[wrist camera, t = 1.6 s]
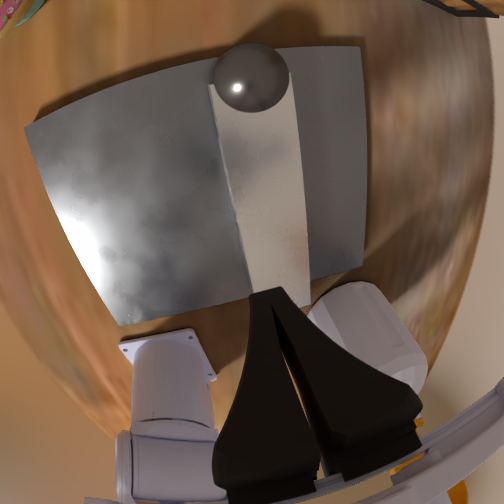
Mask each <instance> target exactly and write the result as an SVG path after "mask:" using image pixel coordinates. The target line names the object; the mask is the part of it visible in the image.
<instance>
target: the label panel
mask: <svg viewBox="0 0 504 504" xmlns="http://www.w3.org/2000/svg"><path fill="white" fill-rule="evenodd" d="M274 50H276V51H277V52H278V53H279V54H280V55H281V56H282V57H283V59H284V60H285V62H286V64H287V67H288V70H289V72H290V73H291V80H292V87H293V94H294V102H295V109H296V117H297V125H298V134H299V143H300V152H301V162H302V172H303V183H304V194H305V207H306V220H307V235H308V251H309V270H310V281H312V280H316V279H319V278H323V277H326V276H330V275H333V274H337V273H340V272H344V271H347V270H351V269H354V268H358V267H361V266H363V254H364V242H365V226H366V205H367V127H366V107H365V92H364V80H363V69H362V60H361V51H360V47H358V46H311V47H292V48H280V49H274ZM218 58H219V57H215V58H210V59H205V60H200V61H196V62H192V63H187V64H183V65H179V66H175V67H171V68H168V69H164V70H160V71H157V72H154V73H150V74H147V75H144V76H141V77H137V78H134V79H131V80H128V81H126V82H123V83H120V84H117V85H114V86H112V87H109V88H106V89H104V90H101V91H99V92H96V93H94V94H91V95H89V96H87V97H84V98H82V99H80V100H77V101H75V102H73V103H71V104H69V105H66V106H64V107H62V108H60V109H58V110H56V111H54V112H52V113H50V114H48V115H46V116H44V117H42V118H41V119H39V120H37V121H35V122H33V123H31V124H30V125H28V126H26V127H24V130H25V133H26V136H27V140H28V143H29V146H30V149H31V152H32V154H33V157H34V160H35V163H36V166H37V168H38V171H39V173H40V176H41V179H42V181H43V184H44V186H45V189H46V191H47V193H48V196H49V198H50V200H51V203H52V205H53V207H54V209H55V212H56V214H57V216H58V218H59V220H60V223H61V225H62V227H63V229H64V231H65V233H66V235H67V237H68V239H69V241H70V243H71V245H72V247H73V249H74V251H75V253H76V254H77V256H78V258H79V260H80V262H81V264H82V266H83V267H84V269H85V271H86V273H87V274H88V276H89V278H90V280H91V281H92V283H93V285H94V287H95V288H96V290H97V292H98V293H99V295H100V297H101V298H102V300H103V301H104V303H105V305H106V306H107V308H108V309H109V311H110V312H111V314H112V316H113V317H114V319H115V320H116V322H117V323H118V325H119V326H124V325H129V324H134V323H139V322H143V321H148V320H153V319H158V318H162V317H167V316H171V315H176V314H180V313H185V312H189V311H194V310H198V309H202V308H207V307H211V306H215V305H219V304H223V303H227V302H232V301H236V300H240V299H244V298H248V297H249V295H250V294H252V290H251V285H250V281H249V276H248V272H247V267H246V263H245V258H244V254H243V249H242V245H241V240H240V236H239V231H238V226H237V222H236V217H235V213H234V208H233V203H232V199H231V194H230V189H229V185H228V180H227V175H226V171H225V166H224V161H223V157H222V152H221V147H220V142H219V138H218V133H217V128H216V123H215V119H214V114H213V109H212V104H211V99H210V95H209V90H208V85H207V84H209V83H211V82H210V74H211V69H212V67H213V65H214V63H215V61H216V60H217V59H218Z"/></svg>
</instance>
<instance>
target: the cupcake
mask: <svg viewBox="0 0 504 504" xmlns="http://www.w3.org/2000/svg"><path fill="white" fill-rule="evenodd" d="M44 1H45V0H0V38H2V37H3V36H4V35H6V34H7V33H8V32H9V31H10V30H12V29H13V28H14V27H16V26H18V25H20V24H22V23H24V22H25V21H27V20H28V19H29V18H31V17H32V16H33V15H34V14H35V13H36V12H37V11H38V9H39V8H40V7H41V6H42V4H43V3H44Z"/></svg>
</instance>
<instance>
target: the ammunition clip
mask: <svg viewBox="0 0 504 504" xmlns="http://www.w3.org/2000/svg"><path fill="white" fill-rule="evenodd" d="M422 1H425V2H427V3H430V4H432V5H434V6H436V7H439V8H441V9H443V10H445V11H447V12H449V13H451V14H453V15H455V16H457V17H489V18H499V15H502V16H504V0H422Z"/></svg>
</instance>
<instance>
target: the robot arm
mask: <svg viewBox="0 0 504 504" xmlns="http://www.w3.org/2000/svg"><path fill="white" fill-rule="evenodd" d="M249 302H250V328H249V339H248V346H247V352H246V358H245V363H244V367H243V371H242V375H241V379H240V382H239V386H238V389H237V392H236V395H235V398H234V401H233V404H232V406H231V409H230V411H229V414H228V416H227V419H226V421H225V424H224V426H223V428H222V430H221V432H220V434H219V433H218V430H217V429H214V426H215V422H214V415H213V408H212V401H211V393H210V386H209V382H210V381H215V380H216V379H217V376H216V374H215V372H214V370H213V368H212V366H211V364H210V362H209V360H208V358H207V356H206V354H205V352H204V350H203V348H202V346H201V344H200V342H199V340H198V338H197V336H196V333H195V331H194V330H193V329H191V328H187V329H182V330H178V331H173V332H168V333H163V334H158V335H153V336H148V337H143V338H138V339H132V340H127V341H121V342H119V346H118V347H119V348H120V350H121V351H122V352H123V354H124V355H125V356H126V357H127V359H128V360H129V361H130V362H131V364H132V365H133V378H132V398H131V427H130V431H126V430H122V432H121V433H119V434H118V435H117V436H116V447H115V449H116V450H115V480H116V491H117V498H118V502H116V501H112V500H107V499H99V498H91V497H84V504H295V503H299V502H303V501H306V500H310V499H313V498H317V497H320V496H323V495H327V494H330V493H333V492H336V491H338V490H341V489H344V488H347V487H350V486H352V485H355V484H357V483H360V482H363V481H365V480H367V479H370V478H372V477H375V476H377V475H379V474H381V473H384V472H385V471H388V470H390V469H392V468H394V467H397V466H399V465H401V464H403V463H405V462H407V461H408V460H410V459H412V458H414V457H416V456H418V455H420V454H422V453H423V452H424V454H423V457H421V458H419V459H418V460H416V461H414V462H412V463H411V464H409V465H407V466H405V467H403V468H402V469H401V470H400V471H398V472H397V473H395V474H393V475H391V481H392V483H393V487H391V488H388V489H386V490H384V491H382V492H379V493H377V494H375V495H373V496H370V497H368V498H365V499H363V500H360V501H357V502H355V503H352V504H452V503H451V501H450V498H449V496H448V494H447V491H448V490H449V489H450V488H452V487H453V486H455V485H456V484H457V483H459V482H460V481H461V480H463V479H464V478H465V477H467V476H468V475H469V474H470V473H472V472H473V471H474V470H475V469H477V468H478V467H479V466H480V465H481V464H482V463H484V462H485V461H486V460H487V459H488V458H489V457H491V456H492V455H493V454H494V453H495V452H496V451H497V450H498V449H499V448H500V447H501V446H502V445H504V377H503V379H501V381H500V382H499V383H498V384H497V385H496V386H495V388H494V389H493V390H491V391H490V392H489V393H487V394H486V395H485V396H483V397H482V398H481V399H479V400H478V401H477V402H475V403H474V404H472V405H471V406H469V407H468V408H467V409H465V410H464V411H462V412H461V413H459V414H458V415H456V416H455V417H453V418H452V419H450V420H448V421H447V422H445V423H443V424H442V425H440V426H439V427H437V428H435V429H433V430H432V431H430V432H428V433H427V434H425V435H423V436H421V437H418V435H417V433H416V431H415V430H416V429H417V426H416V424H415V422H414V419H415V418H416V417H417V416H418V414H419V413H420V412H421V410H422V408H423V405H422V402H421V400H420V399H419V397H418V395H417V394H416V393H415V391H414V390H413V389H412V388H411V387H410V385H409V384H407V383H404V382H402V381H400V380H397V379H395V378H393V377H391V376H389V375H387V374H385V373H383V372H381V371H379V370H377V369H375V368H373V367H372V366H370V365H368V364H367V363H365V362H363V361H362V360H360V359H358V358H357V357H355V356H354V355H352V354H351V353H349V352H348V351H346V350H345V349H344V348H342V347H341V346H340V345H338V344H337V343H336V342H334V341H333V340H332V339H331V338H330V337H328V336H327V335H326V334H325V333H324V332H323V331H321V330H320V329H319V328H318V327H317V326H316V325H315V324H314V323H313V322H312V321H311V320H310V319H309V318H308V317H307V316H306V315H305V314H304V313H303V312H302V311H301V310H300V309H299V308H298V306H297V305H296V304H295V303H294V302H293V300H292V299H291V298H290V297H289V295H288V294H287V293H286V291H285V290H284V288H283V287H281V286H278V287H275V288H271V289H267V290H264V291H260V292H256V293H252V294H250V295H249ZM282 353H283V354H282ZM283 356H284V357H283ZM284 358H285V360H286V363H287V365H288V367H289V369H290V372H291V374H292V376H293V379H294V381H295V383H296V386H297V388H298V391H299V393H300V396H301V400H302V403H303V406H304V409H305V412H306V415H307V418H306V416H305V413H304V411H303V408H302V406H301V403H300V401H299V398H298V395H297V393H296V390H295V387H294V385H293V382H292V379H291V377H290V374H289V371H288V368H287V366H286V363H285V360H284ZM307 419H308V421H307ZM308 422H309V423H308ZM309 425H310V426H309ZM320 462H321V465H322V469H323V472H324V475H325V478H323V479H320V480H317V471H318V470H319V464H320ZM314 480H317V481H314Z"/></svg>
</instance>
